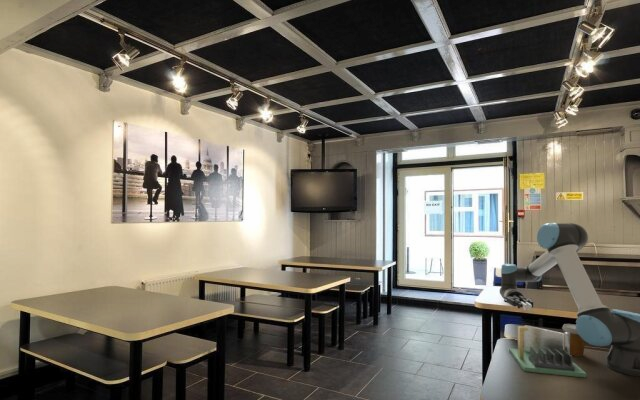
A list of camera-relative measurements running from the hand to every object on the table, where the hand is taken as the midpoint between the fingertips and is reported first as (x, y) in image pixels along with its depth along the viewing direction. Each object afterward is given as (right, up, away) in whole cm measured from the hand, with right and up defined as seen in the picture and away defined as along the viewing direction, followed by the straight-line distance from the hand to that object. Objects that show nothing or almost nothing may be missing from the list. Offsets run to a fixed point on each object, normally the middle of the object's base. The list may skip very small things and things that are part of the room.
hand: (528, 307), depth 171 cm
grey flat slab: (+2, -18, -9) cm, 20 cm away
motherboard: (-1, -19, -13) cm, 24 cm away
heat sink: (-2, -18, -17) cm, 25 cm away
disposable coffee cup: (+20, -21, -1) cm, 29 cm away
